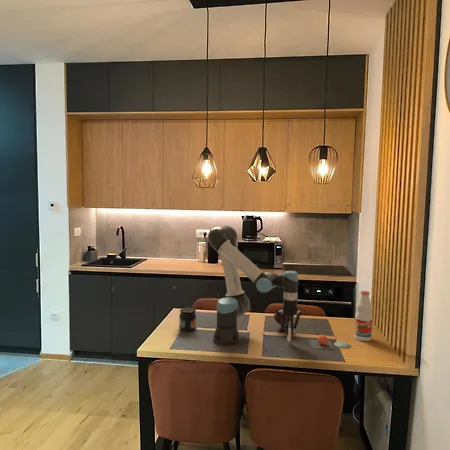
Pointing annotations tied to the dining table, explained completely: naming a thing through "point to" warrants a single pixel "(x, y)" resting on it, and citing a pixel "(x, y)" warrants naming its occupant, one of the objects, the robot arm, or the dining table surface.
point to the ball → (322, 340)
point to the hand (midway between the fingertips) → (288, 340)
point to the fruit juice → (363, 318)
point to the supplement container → (187, 319)
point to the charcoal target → (317, 346)
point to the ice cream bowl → (278, 319)
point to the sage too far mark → (342, 344)
